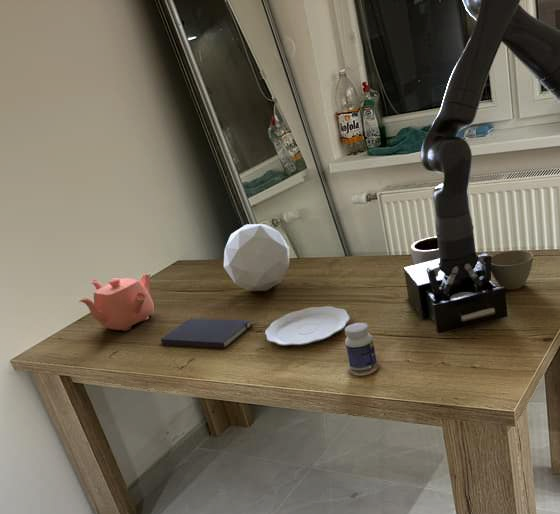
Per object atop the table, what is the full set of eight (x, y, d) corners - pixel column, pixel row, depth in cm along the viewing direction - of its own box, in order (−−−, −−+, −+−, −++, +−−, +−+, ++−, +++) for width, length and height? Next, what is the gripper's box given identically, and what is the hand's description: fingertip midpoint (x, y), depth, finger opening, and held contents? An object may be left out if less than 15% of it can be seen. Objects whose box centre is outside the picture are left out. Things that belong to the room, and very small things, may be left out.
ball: (252, 312, 205) (202, 268, 203) (291, 267, 212) (243, 223, 209) (271, 295, 187) (216, 246, 185) (313, 246, 194) (260, 198, 191)
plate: (254, 351, 163) (252, 345, 163) (284, 314, 180) (283, 308, 179) (335, 349, 155) (334, 342, 154) (360, 309, 171) (358, 303, 170)
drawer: (516, 325, 143) (514, 295, 140) (444, 342, 143) (440, 313, 140) (487, 297, 158) (484, 269, 155) (422, 312, 159) (418, 286, 156)
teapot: (93, 342, 194) (76, 298, 188) (105, 318, 211) (89, 276, 205) (154, 327, 193) (139, 282, 187) (161, 304, 210) (147, 262, 204)
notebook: (162, 344, 181) (225, 348, 169) (160, 339, 180) (223, 342, 169) (190, 323, 190) (252, 325, 178) (189, 318, 189) (250, 320, 178)
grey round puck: (472, 299, 154) (471, 289, 153) (482, 308, 149) (481, 299, 148) (446, 306, 155) (444, 296, 154) (454, 316, 149) (453, 306, 148)
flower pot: (534, 292, 157) (532, 263, 154) (489, 295, 161) (486, 267, 158) (535, 275, 165) (533, 247, 162) (492, 279, 169) (489, 252, 166)
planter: (408, 286, 177) (403, 251, 173) (425, 270, 184) (421, 236, 180) (448, 287, 171) (443, 251, 166) (464, 270, 178) (460, 235, 174)
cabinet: (493, 302, 157) (489, 268, 153) (422, 319, 158) (417, 285, 154) (473, 283, 169) (470, 251, 165) (408, 299, 170) (403, 267, 166)
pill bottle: (381, 371, 140) (373, 328, 136) (354, 379, 140) (346, 336, 136) (373, 360, 145) (365, 318, 141) (348, 367, 145) (339, 326, 141)
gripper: (482, 220, 147) (489, 291, 155) (417, 236, 148) (427, 307, 155) (494, 229, 140) (501, 303, 148) (426, 246, 141) (436, 319, 148)
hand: (463, 304), depth 151 cm, fingers closed on grey round puck, 6 cm apart
